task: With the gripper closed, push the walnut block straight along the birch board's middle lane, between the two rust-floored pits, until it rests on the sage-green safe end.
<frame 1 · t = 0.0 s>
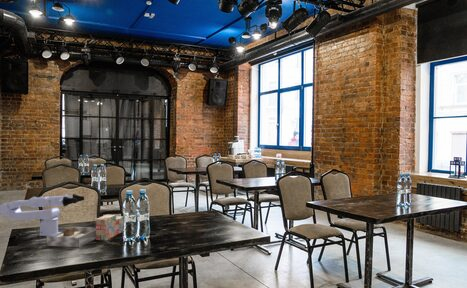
hand: (80, 199, 218), 22 cm above the table, tool horizontal, fingers open, 7 cm apart
walnut block: (68, 235, 209), point 3 cm above the table, touching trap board
stack of blocks: (110, 235, 220), on the table
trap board: (73, 240, 208), on the table
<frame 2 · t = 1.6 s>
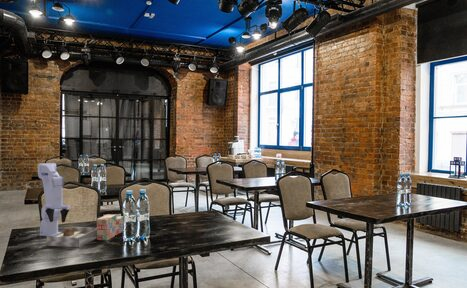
hand: (57, 221, 210), 10 cm above the table, tool pointing down, fingers open, 7 cm apart
nothing on the table moved.
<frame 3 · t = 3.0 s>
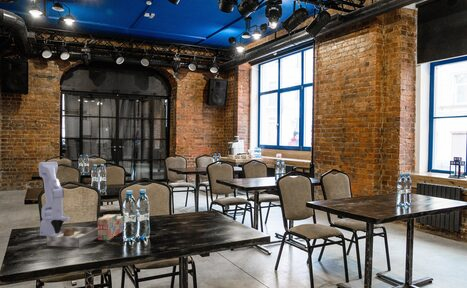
hand: (57, 233, 210), 4 cm above the table, tool pointing down, fingers closed
nothing on the table moved.
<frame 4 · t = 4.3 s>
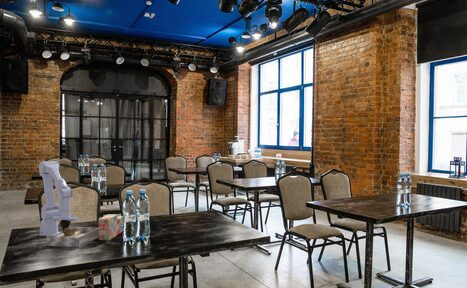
hand: (65, 233, 209), 4 cm above the table, tool pointing down, fingers closed
walnut block: (69, 235, 209), point 3 cm above the table, touching gripper, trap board
everything else where it was.
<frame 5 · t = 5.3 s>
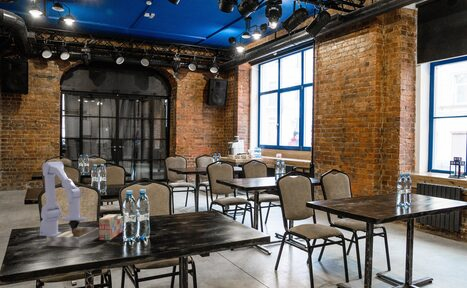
hand: (74, 233, 208), 4 cm above the table, tool pointing down, fingers closed, pressing on walnut block
walnut block: (78, 235, 208), point 3 cm above the table, touching gripper, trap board
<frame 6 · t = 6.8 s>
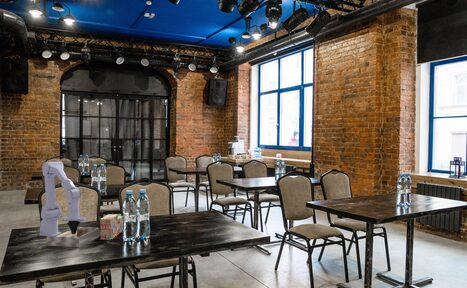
hand: (73, 234, 208), 4 cm above the table, tool pointing down, fingers closed
walnut block: (82, 235, 207), point 3 cm above the table, touching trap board
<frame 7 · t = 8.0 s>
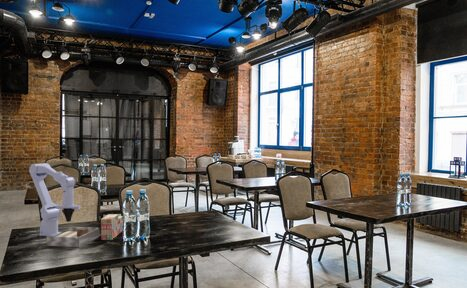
hand: (68, 221, 215), 9 cm above the table, tool pointing down, fingers closed
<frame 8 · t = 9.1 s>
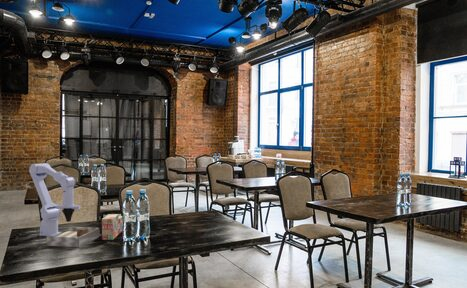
hand: (68, 221, 215), 9 cm above the table, tool pointing down, fingers closed
at the end: walnut block 0.7 cm from the target spot on the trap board, point 3.0 cm above the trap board's base; walnut block tilted 0° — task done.
